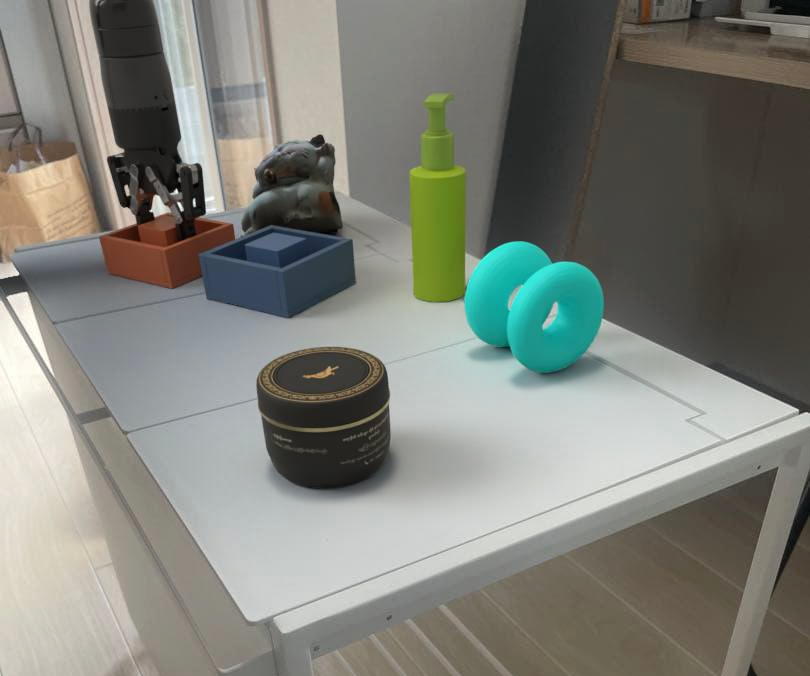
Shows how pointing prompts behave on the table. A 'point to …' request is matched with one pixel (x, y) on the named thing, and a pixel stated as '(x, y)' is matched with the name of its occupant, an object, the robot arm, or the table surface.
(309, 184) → the lucky cat figurine
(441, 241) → the soap dispenser
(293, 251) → the blue block
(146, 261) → the terracotta bin
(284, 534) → the table surface
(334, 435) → the jar
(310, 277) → the blue bin
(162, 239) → the terracotta block
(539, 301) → the donuts
